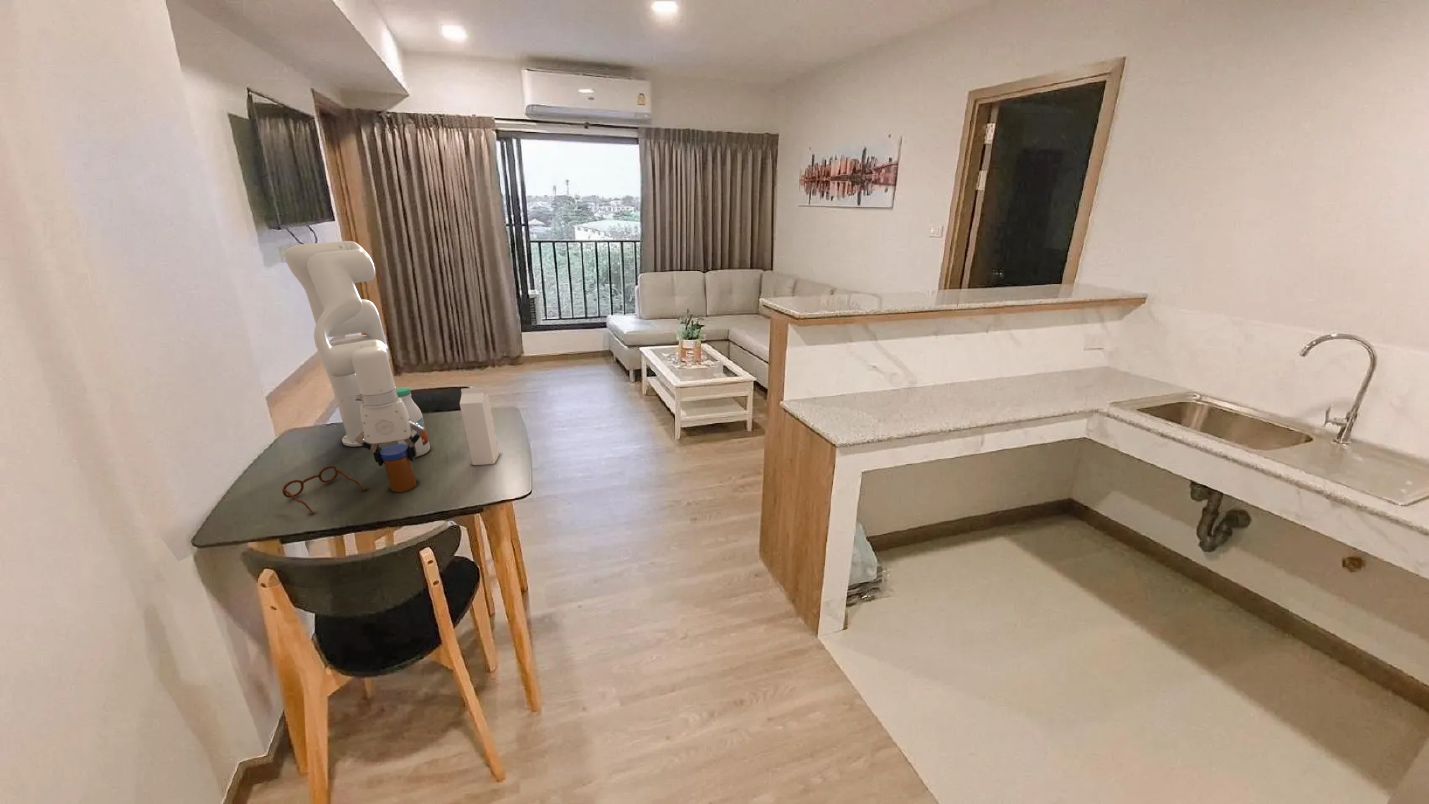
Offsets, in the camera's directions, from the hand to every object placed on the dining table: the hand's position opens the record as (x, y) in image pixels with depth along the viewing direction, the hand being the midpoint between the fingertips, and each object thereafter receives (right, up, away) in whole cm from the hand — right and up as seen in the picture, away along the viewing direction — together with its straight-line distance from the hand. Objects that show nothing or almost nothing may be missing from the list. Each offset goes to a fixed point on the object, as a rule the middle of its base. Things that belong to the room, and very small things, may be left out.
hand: (397, 460), depth 143 cm
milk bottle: (-7, 0, +21) cm, 22 cm away
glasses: (-18, -9, -1) cm, 20 cm away
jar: (0, -7, +3) cm, 8 cm away
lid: (0, +3, -1) cm, 3 cm away
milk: (+17, -2, +16) cm, 23 cm away
